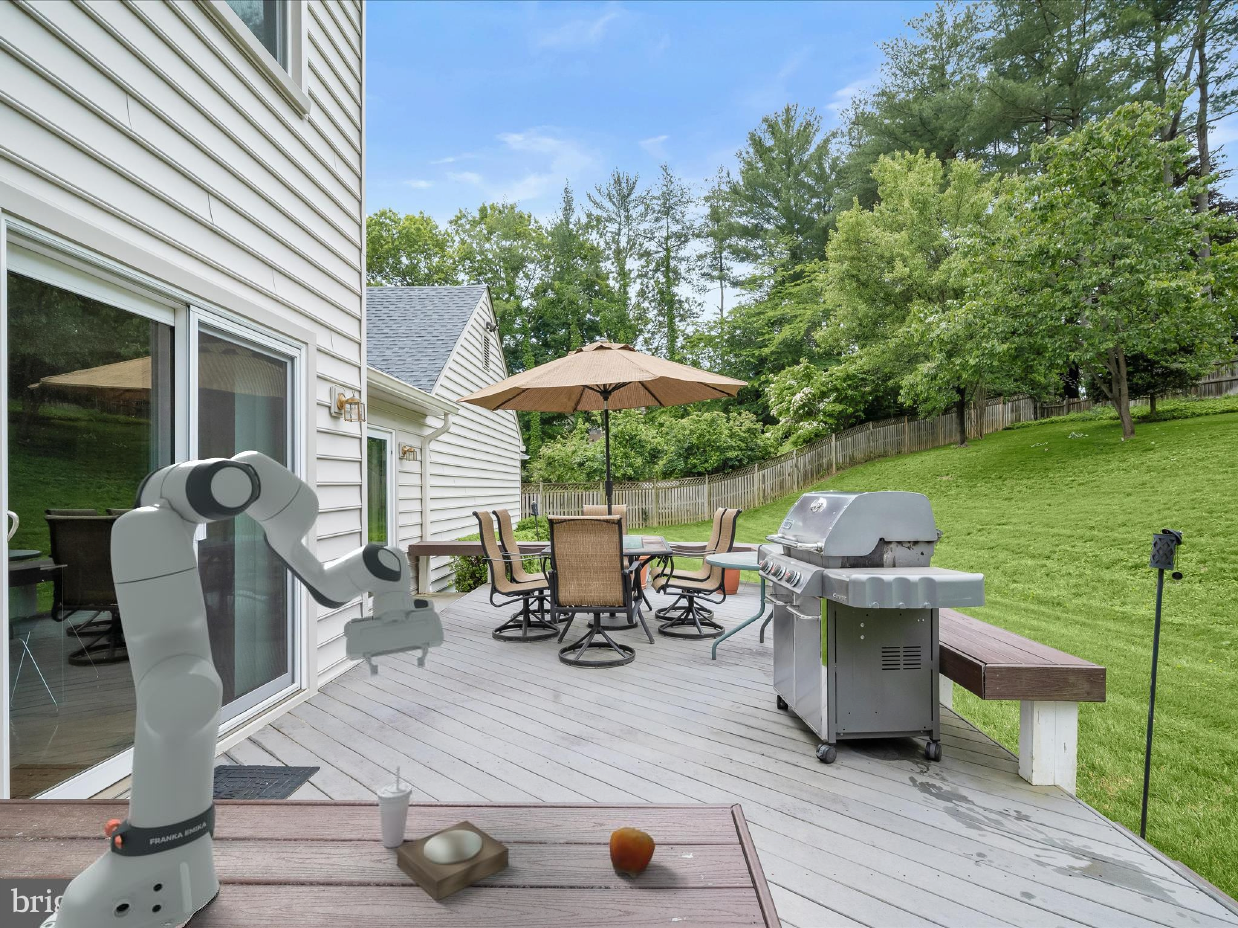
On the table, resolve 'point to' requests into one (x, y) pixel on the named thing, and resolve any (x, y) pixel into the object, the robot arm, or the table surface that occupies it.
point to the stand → (452, 859)
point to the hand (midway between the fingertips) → (398, 670)
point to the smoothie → (394, 811)
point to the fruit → (631, 850)
